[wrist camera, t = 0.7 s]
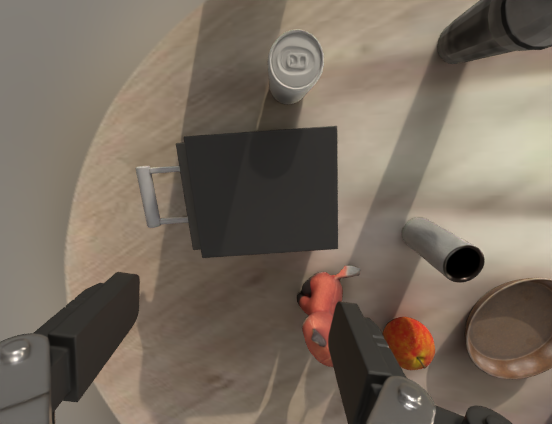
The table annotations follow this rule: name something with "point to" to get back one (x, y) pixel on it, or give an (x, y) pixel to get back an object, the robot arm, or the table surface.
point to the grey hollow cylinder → (443, 250)
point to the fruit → (410, 343)
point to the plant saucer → (512, 329)
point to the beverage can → (294, 65)
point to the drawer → (151, 203)
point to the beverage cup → (497, 30)
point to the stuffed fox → (321, 309)
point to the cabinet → (265, 191)
